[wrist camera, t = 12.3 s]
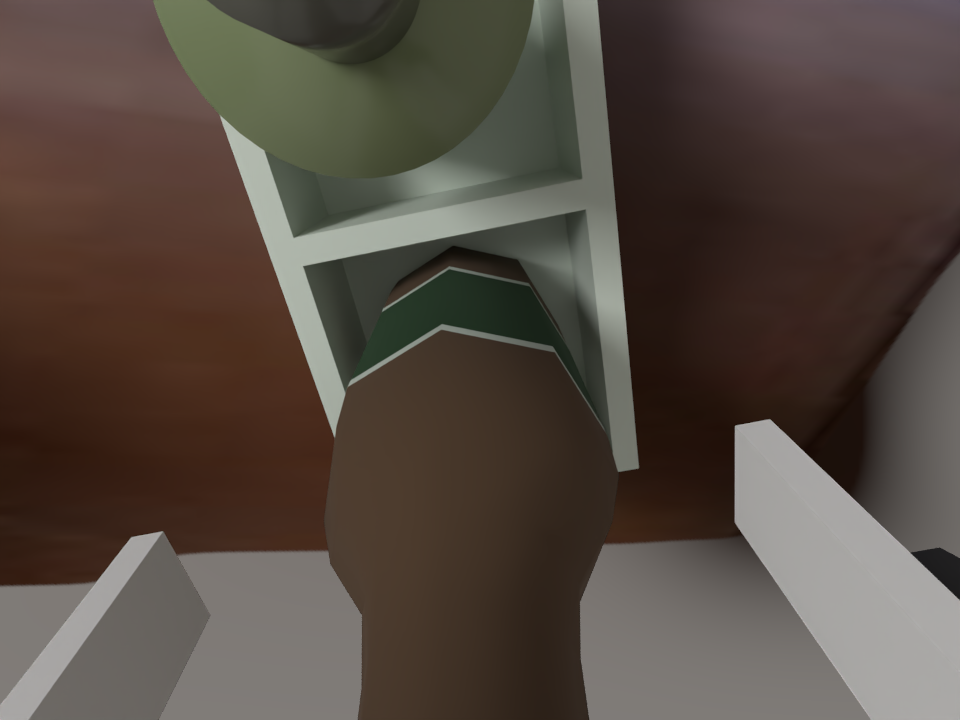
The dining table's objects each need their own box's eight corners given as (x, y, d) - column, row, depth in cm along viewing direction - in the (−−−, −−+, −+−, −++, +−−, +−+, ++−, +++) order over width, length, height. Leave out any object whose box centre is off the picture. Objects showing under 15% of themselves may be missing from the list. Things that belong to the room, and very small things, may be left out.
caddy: (382, 442, 29) (362, 515, 23) (214, -89, 19) (118, -168, 14) (606, 402, 28) (638, 468, 23) (542, -169, 19) (571, -284, 13)
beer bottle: (585, 303, 25) (1468, 1660, 3) (488, 423, 27) (570, 1643, 5) (445, 203, 23) (-48, 1979, 1) (354, 343, 25) (-360, 1728, 4)
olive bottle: (357, 162, 22) (120, 250, 7) (307, -21, 20) (-236, -502, 4) (509, 130, 22) (606, 148, 7) (479, -61, 19) (524, -736, 4)
